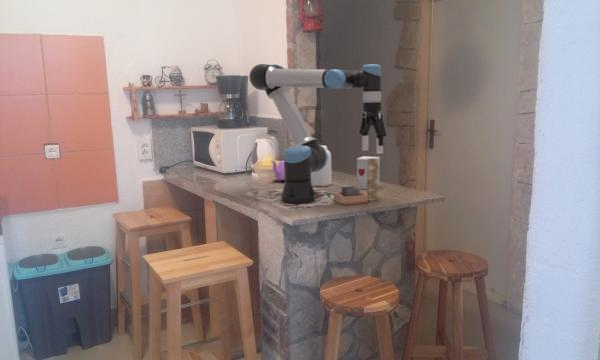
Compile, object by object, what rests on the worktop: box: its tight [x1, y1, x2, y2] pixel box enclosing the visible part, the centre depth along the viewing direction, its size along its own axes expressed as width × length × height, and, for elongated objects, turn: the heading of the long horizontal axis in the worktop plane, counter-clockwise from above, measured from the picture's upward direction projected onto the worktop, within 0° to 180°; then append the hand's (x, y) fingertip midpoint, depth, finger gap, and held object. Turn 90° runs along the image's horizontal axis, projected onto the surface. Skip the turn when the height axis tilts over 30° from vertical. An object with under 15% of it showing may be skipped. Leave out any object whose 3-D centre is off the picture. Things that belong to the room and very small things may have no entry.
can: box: [311, 144, 333, 187], centre depth 247 cm, size 12×12×20 cm
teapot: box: [271, 160, 285, 182], centre depth 260 cm, size 20×14×12 cm
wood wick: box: [366, 158, 379, 202], centre depth 209 cm, size 4×2×18 cm, turn 107°
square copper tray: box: [333, 185, 369, 206], centre depth 207 cm, size 11×11×6 cm
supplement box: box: [356, 155, 381, 190], centre depth 236 cm, size 9×9×15 cm
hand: (372, 152), depth 207 cm, fingers open, 13 cm apart
